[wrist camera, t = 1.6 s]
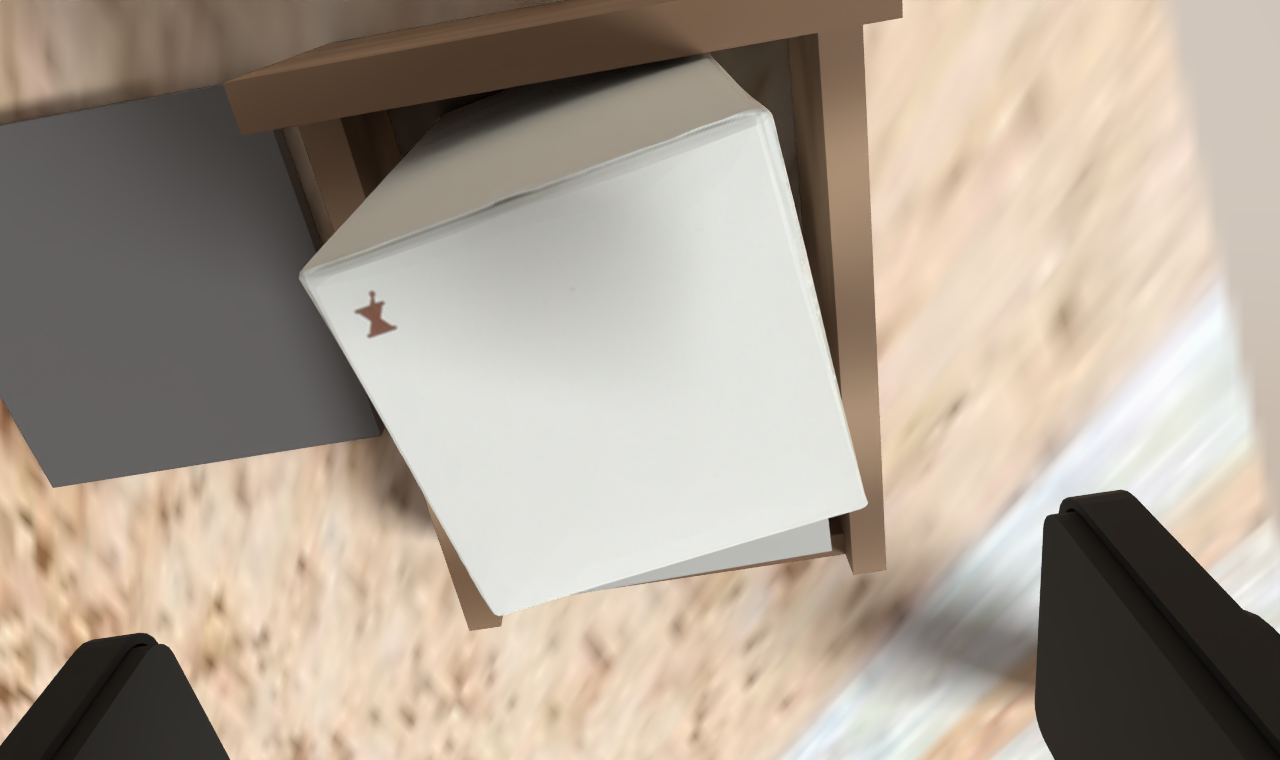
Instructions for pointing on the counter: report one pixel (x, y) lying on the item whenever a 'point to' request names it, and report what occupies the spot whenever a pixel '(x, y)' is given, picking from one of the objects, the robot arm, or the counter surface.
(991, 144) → the counter surface
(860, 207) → the walnut rack
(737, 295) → the supplement box
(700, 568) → the upper offcut
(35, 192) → the rubber mat
